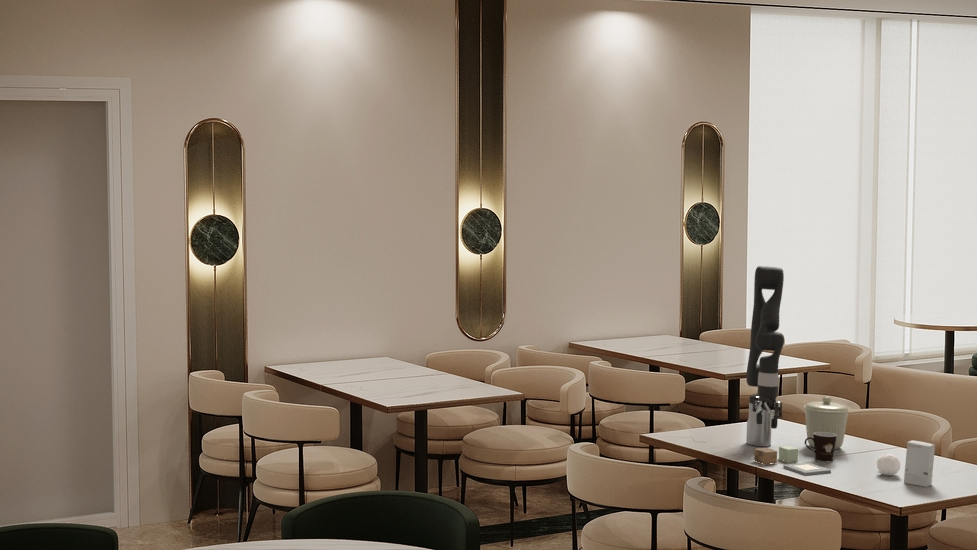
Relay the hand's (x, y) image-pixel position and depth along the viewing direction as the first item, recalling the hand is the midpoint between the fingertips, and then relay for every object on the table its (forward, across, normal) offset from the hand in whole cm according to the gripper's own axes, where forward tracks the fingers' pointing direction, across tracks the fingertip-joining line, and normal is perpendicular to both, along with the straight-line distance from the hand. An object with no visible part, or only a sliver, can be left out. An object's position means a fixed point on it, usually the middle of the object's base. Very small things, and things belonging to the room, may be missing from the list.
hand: (766, 426), depth 386 cm
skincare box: (+14, -44, -32) cm, 56 cm away
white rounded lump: (+14, -29, -32) cm, 46 cm away
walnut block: (+14, 0, 0) cm, 14 cm away
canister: (+14, +13, -41) cm, 45 cm away
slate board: (+14, -15, -7) cm, 22 cm away
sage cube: (+14, 0, -11) cm, 18 cm away
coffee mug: (+14, -3, -24) cm, 28 cm away
